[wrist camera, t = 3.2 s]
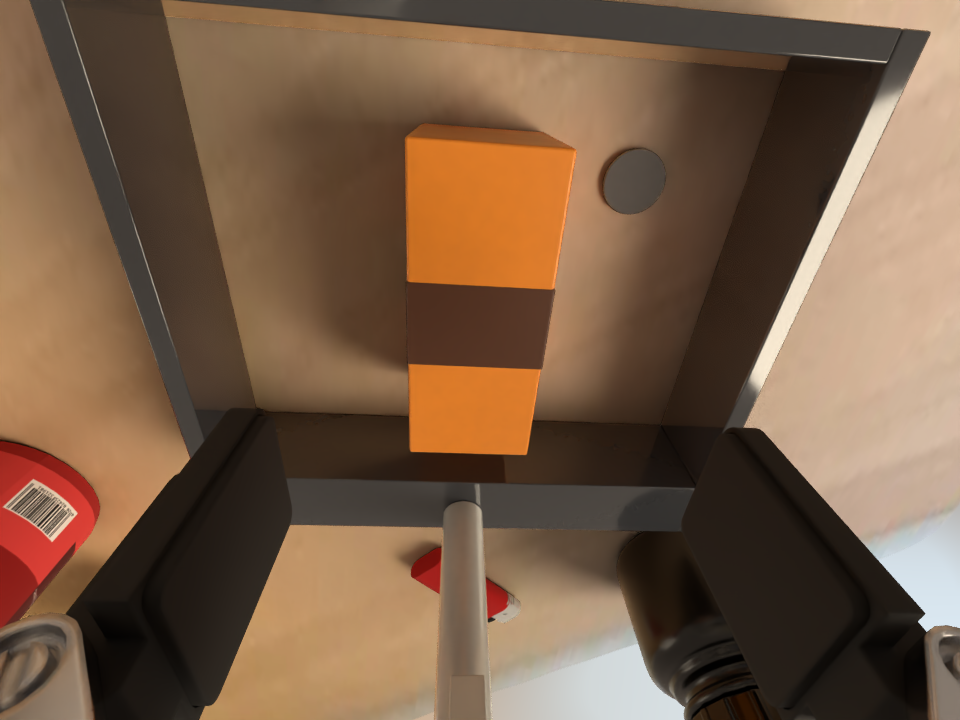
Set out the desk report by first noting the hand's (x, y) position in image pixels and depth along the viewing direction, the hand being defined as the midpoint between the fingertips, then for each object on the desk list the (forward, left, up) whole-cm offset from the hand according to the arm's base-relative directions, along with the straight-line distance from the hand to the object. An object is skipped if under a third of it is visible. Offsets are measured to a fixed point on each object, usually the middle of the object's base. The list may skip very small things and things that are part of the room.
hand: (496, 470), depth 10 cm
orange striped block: (0, 0, -11) cm, 11 cm away
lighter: (+22, +1, -12) cm, 25 cm away
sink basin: (+1, 0, -11) cm, 11 cm away
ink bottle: (+19, +15, -12) cm, 27 cm away
